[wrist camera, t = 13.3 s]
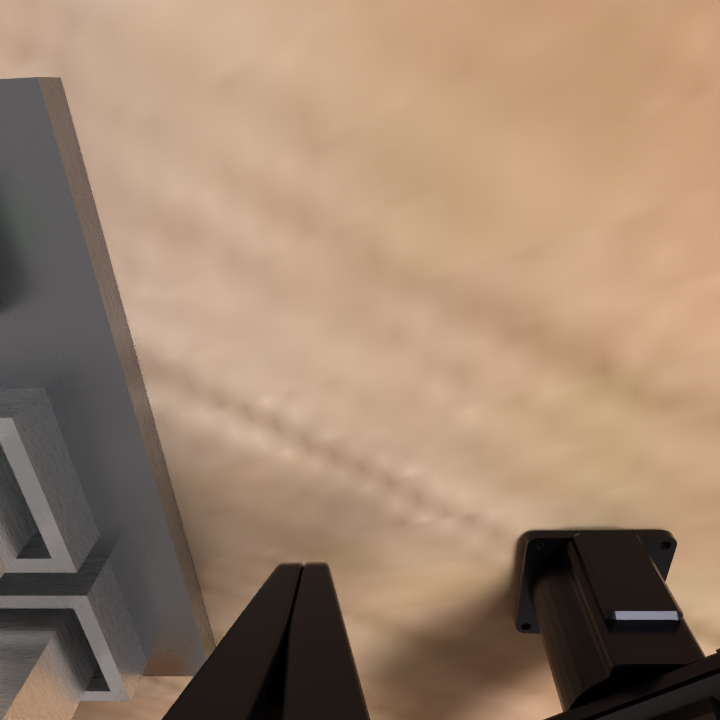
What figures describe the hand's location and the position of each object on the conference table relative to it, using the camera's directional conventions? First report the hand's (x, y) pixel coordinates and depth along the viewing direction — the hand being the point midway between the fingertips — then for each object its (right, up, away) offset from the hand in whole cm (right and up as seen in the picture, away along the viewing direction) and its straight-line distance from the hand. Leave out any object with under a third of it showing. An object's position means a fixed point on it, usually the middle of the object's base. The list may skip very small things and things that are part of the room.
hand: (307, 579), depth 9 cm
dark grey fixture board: (-15, 0, +14) cm, 20 cm away
